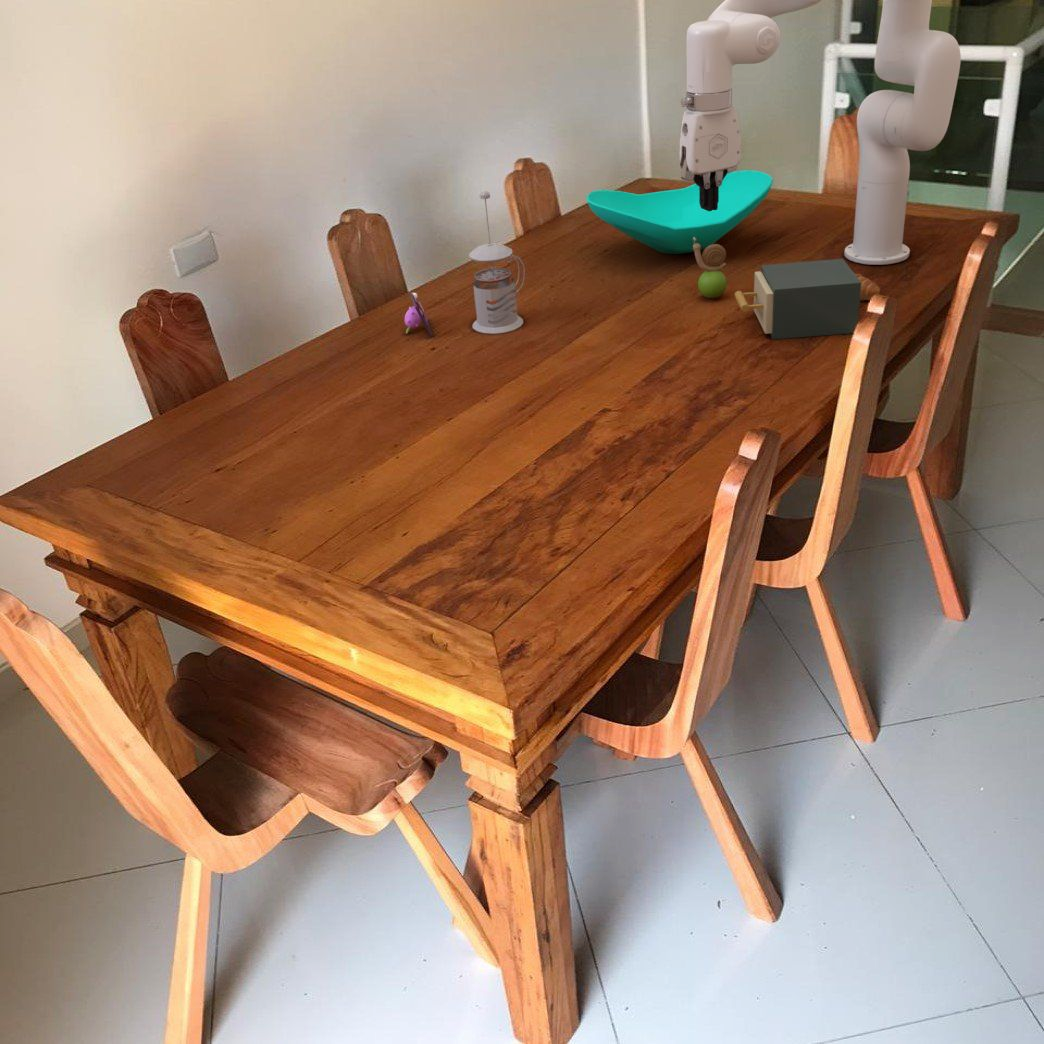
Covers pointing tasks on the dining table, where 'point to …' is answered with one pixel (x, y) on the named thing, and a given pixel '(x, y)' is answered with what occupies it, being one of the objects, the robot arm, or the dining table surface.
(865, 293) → the pastry
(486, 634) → the dining table surface
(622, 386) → the dining table surface
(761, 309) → the drawer
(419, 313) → the purple plush toy
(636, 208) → the table top decor
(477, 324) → the french press
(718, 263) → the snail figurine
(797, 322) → the cabinet
